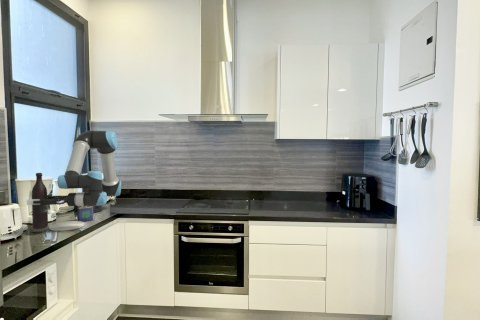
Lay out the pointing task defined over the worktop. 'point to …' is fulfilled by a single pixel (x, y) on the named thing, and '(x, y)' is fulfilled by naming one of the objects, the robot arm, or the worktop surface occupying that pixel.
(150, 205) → the worktop surface
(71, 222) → the ceramic dish
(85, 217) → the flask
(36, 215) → the wine bottle
